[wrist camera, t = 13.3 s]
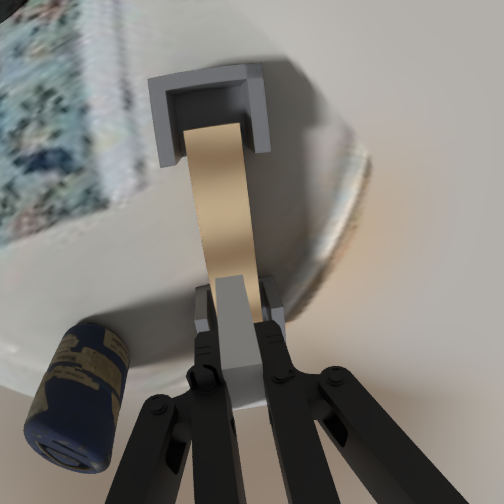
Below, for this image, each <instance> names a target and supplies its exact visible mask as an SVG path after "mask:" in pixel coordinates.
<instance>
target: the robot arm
mask: <svg viewBox="0 0 504 504" xmlns="http://www.w3.org/2000/svg"><path fill="white" fill-rule="evenodd" d="M24 1H25V0H0V23H1V22H2V21H4V20H5V19H6V18H8V17H9V16H10V15H11V14H12V13H13V12H14V11H15V10H16V9H17V8H18V7H19V6H20V5H21V4H22V3H23V2H24ZM215 288H216V304H217V318H218V329H217V330H210V331H203V332H199V333H198V335H197V337H196V338H195V360H194V366H192V367H191V368H190V369H189V370H188V371H187V375H186V378H187V380H188V383H189V386H190V389H189V390H188V391H187V392H186V393H184V394H182V395H180V396H177V397H174V398H171V397H169V396H168V395H164V394H156V395H154V396H151V397H150V398H148V399H147V400H146V401H145V403H144V404H143V406H142V409H141V411H140V413H139V416H138V418H137V421H136V423H135V426H134V428H133V431H132V434H131V436H130V438H129V441H128V443H127V446H126V448H125V451H124V453H123V456H122V459H121V461H120V464H119V466H118V469H117V472H116V475H115V477H114V480H113V482H112V485H111V488H110V491H109V493H108V496H107V499H106V501H105V504H175V502H176V498H177V495H178V491H179V487H180V482H181V479H182V475H183V471H184V468H185V464H186V460H187V456H188V452H189V448H190V445H191V440H192V455H193V456H192V458H193V480H194V499H195V504H247V503H246V497H245V490H244V484H243V478H242V471H241V463H240V456H239V449H238V442H237V435H236V427H235V420H234V417H233V412H232V410H237V409H244V408H249V407H256V406H262V405H267V406H268V412H269V420H270V424H271V427H272V432H273V436H274V441H275V446H276V450H277V455H278V459H279V463H280V468H281V473H282V477H283V481H284V486H285V490H286V495H287V499H288V503H289V504H341V503H340V500H339V497H338V494H337V491H336V488H335V485H334V482H333V478H332V475H331V473H330V470H329V466H328V463H327V460H326V457H325V454H324V451H323V448H322V445H321V442H320V439H319V435H318V432H317V429H316V426H315V423H314V420H317V421H318V422H319V424H320V425H321V427H322V428H323V429H324V431H325V432H326V434H327V435H328V437H329V438H330V439H331V441H332V442H333V443H334V445H335V446H336V448H337V449H338V451H339V452H340V453H341V455H342V456H343V457H344V459H345V460H346V461H347V463H348V464H349V466H350V467H351V469H352V470H353V471H354V473H355V474H356V475H357V476H358V478H359V479H360V481H361V482H362V483H363V485H364V486H365V487H366V489H367V490H368V491H369V493H370V494H371V495H372V497H373V498H374V499H375V501H376V502H377V503H378V504H469V503H468V502H467V501H466V500H465V499H464V498H463V496H462V495H461V494H460V493H459V492H458V491H457V490H456V489H455V488H454V487H453V486H452V484H451V483H450V482H449V481H448V480H447V479H446V478H445V477H444V476H443V475H442V473H441V472H440V471H439V470H438V469H437V468H436V467H435V466H434V464H433V463H432V462H431V461H430V460H429V459H428V458H427V457H426V456H425V455H424V454H423V452H422V451H421V450H420V449H419V448H418V447H417V446H416V445H415V444H414V442H413V441H412V440H411V439H410V438H409V437H408V436H407V435H406V434H405V432H404V431H403V430H402V429H401V428H400V427H399V426H398V425H397V424H396V423H395V421H394V420H393V419H392V418H391V417H390V416H389V415H388V413H387V412H386V411H385V410H384V409H383V408H382V407H381V406H380V405H379V403H378V402H377V401H376V400H375V399H374V398H373V397H372V396H371V395H370V394H369V392H368V391H367V390H366V389H365V388H364V387H363V386H362V384H361V383H360V382H359V381H358V380H357V379H356V378H355V377H354V375H353V374H352V373H351V372H350V371H348V370H347V369H346V368H343V367H340V366H332V367H328V368H326V369H324V370H323V371H322V372H321V374H307V373H303V372H300V371H298V370H297V369H296V368H295V367H294V366H293V364H292V362H291V358H290V355H289V352H288V349H287V346H286V343H285V340H284V337H283V334H282V331H281V328H280V325H278V324H277V323H276V322H275V321H274V320H269V321H263V322H257V323H253V320H252V315H251V311H250V306H249V301H248V297H247V292H246V288H245V283H244V278H243V274H241V275H235V276H228V277H222V278H215Z"/></svg>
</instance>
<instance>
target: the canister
mask: <svg viewBox="0 0 504 504" xmlns="http://www.w3.org/2000/svg"><path fill="white" fill-rule="evenodd" d="M129 364H130V358H129V353H128V351H127V348H126V346H125V345H124V343H123V342H122V341H121V339H120V338H119V337H118V336H117V335H115V334H114V333H113V332H111V331H109V330H108V329H106V328H103V327H101V326H98V325H94V324H79V325H76V326H73V327H72V328H70V329H69V330H68V331H67V332H66V333H65V335H64V336H63V338H62V340H61V342H60V344H59V346H58V348H57V350H56V352H55V354H54V356H53V359H52V361H51V363H50V365H49V367H48V370H47V372H46V373H45V374H44V376H43V379H42V381H41V383H40V386H39V388H38V390H37V392H36V395H35V398H34V400H33V403H32V405H31V407H30V410H29V413H28V416H27V419H26V421H25V424H24V436H25V438H26V441H27V442H28V444H29V445H30V446H31V447H32V448H33V450H35V451H36V452H37V453H38V454H39V455H41V456H42V457H43V458H45V459H46V460H48V461H50V462H51V463H53V464H55V465H58V466H60V467H62V468H65V469H68V470H71V471H75V472H79V473H87V474H96V473H100V472H103V471H105V470H106V469H107V468H108V467H109V465H110V462H111V457H112V448H113V443H114V437H115V431H116V426H117V421H118V415H119V411H120V408H121V403H122V399H123V394H124V389H125V384H126V378H127V373H128V369H129Z"/></svg>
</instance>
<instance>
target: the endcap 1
mask: <svg viewBox="0 0 504 504" xmlns="http://www.w3.org/2000/svg"><path fill="white" fill-rule="evenodd" d="M148 87H149V95H150V103H151V110H152V117H153V124H154V131H155V138H156V144H157V150H158V156H159V162H160V168H163V167H169V166H174V165H176V164H177V163H178V162H179V161H180V159H181V158H182V157H185V156H187V152H186V146H185V139H184V132H183V131H185V130H188V129H191V128H197V127H203V126H210V125H217V124H224V123H232V122H236V123H239V124H240V132H241V140H242V148H247V147H248V148H249V149H250V150H252V151H253V152H254V153H255V154H256V153H264V152H271V145H270V135H269V125H268V116H267V106H266V97H265V88H264V80H263V71H262V63H251V64H239V65H230V66H221V67H213V68H205V69H199V70H192V71H186V72H180V73H175V74H169V75H164V76H159V77H155V78H150V79H148Z"/></svg>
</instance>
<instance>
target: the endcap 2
mask: <svg viewBox="0 0 504 504" xmlns="http://www.w3.org/2000/svg"><path fill="white" fill-rule="evenodd" d="M258 284H259V293H260V301H261V310H262V318H263V321H269V320H274V321H275V322H276V323H277V324H278V325H280V328H281V331H282V334H283V337H284V340H285V343H286V334H285V317H284V306H283V303H282V301H281V298H280V295H279V293H278V290H277V287H276V285H275V282H274V279H273V277H272V276H269V277H262V278H258ZM194 323H195V326H196V330H197V334H198V333H199V332H203V331H210V330H217V329H218V320H217V315H216V310H215V306H214V301H213V296H212V291H211V287H210V286H203V287H196V293H195V310H194Z"/></svg>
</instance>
